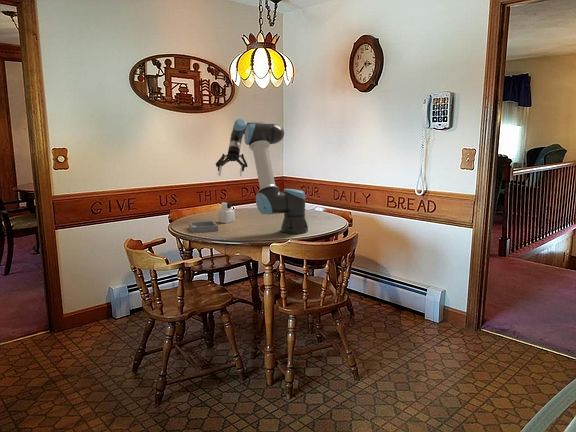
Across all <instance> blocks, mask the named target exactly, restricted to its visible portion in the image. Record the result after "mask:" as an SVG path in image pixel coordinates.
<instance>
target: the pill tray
mask: <svg viewBox="0 0 576 432" xmlns="http://www.w3.org/2000/svg"><path fill="white" fill-rule="evenodd" d="M188 228H189V229H190V231H191V232H193V233H196V232H197V233H205V232H207V233H208V232H219V224H217V223H216V222H215V221H214V220H206V221H205V220H204V221H193V222H192V221H191V222H188ZM193 233H192V234H193ZM197 233H196V234H197Z"/></svg>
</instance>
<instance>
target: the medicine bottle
mask: <svg viewBox="0 0 576 432" xmlns="http://www.w3.org/2000/svg"><path fill="white" fill-rule="evenodd" d="M220 206H221V208H220V210H219V209H218V212H217V213H218V217H217V218H218V222H219V223H223V224H228V223H235V221H236V220H235V219H236V218H235V216H236V215H235V213H236V212H235V210H234V209H232V202H230V201H224V202H221V203H220Z"/></svg>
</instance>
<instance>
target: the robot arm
mask: <svg viewBox="0 0 576 432" xmlns="http://www.w3.org/2000/svg"><path fill="white" fill-rule="evenodd" d="M243 136H244V138H243ZM284 137H285V131H284V128H283V127H282V126H281V125H280V124H276V123H266V122H261V121H260V122H246V120H245V119H242V118H237V119H236V120H235V121H234V124H233V127H232V130H231V133H230V139H229V145H228V150H227V154H225V153H222V154H221V156H220V158H219V159H218V160H217V161H216V163H215V166H216V168H217V171H218V173H217V174H218V177H221V174H222V169H223V166H225V165H226V164H227V163H229V162H237V163H238V165H239V166H240V171H239V177H243V172H245V168H248V167H249V166H248V163H247V161H246V159H245V156H244V153H241V154H240V152H241V146H242V140H243V139H244V144H245V145H247V146H248V147H249V149H250V150H251V151H252V153H253V158H254V162H255V163H254V164H255V168H256V174H257V179H258V185H259V190H258V191H257V193H256V195H255V203H256V204H255V205H256V208H257V209H258V212H259V213H260V214H262V215H269V216H270V215H277V214H283V219H282V222H281V226H280V232H281V233H285V234H292V235H293V234H295V235H296V234H304V233H305V234H306V233H307V232H309V227H308V226H309V225H308V223H307V219H306V193H305V191H303V190H301V189H293V188H284V189H283V191H280V188H279V186H277V185H276V181H275V176H274V171H273V166H272V162H271V158H270V151H269V147H270V145H275V144H278V143H280V142H281V141H282V140H283V139H284Z"/></svg>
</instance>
